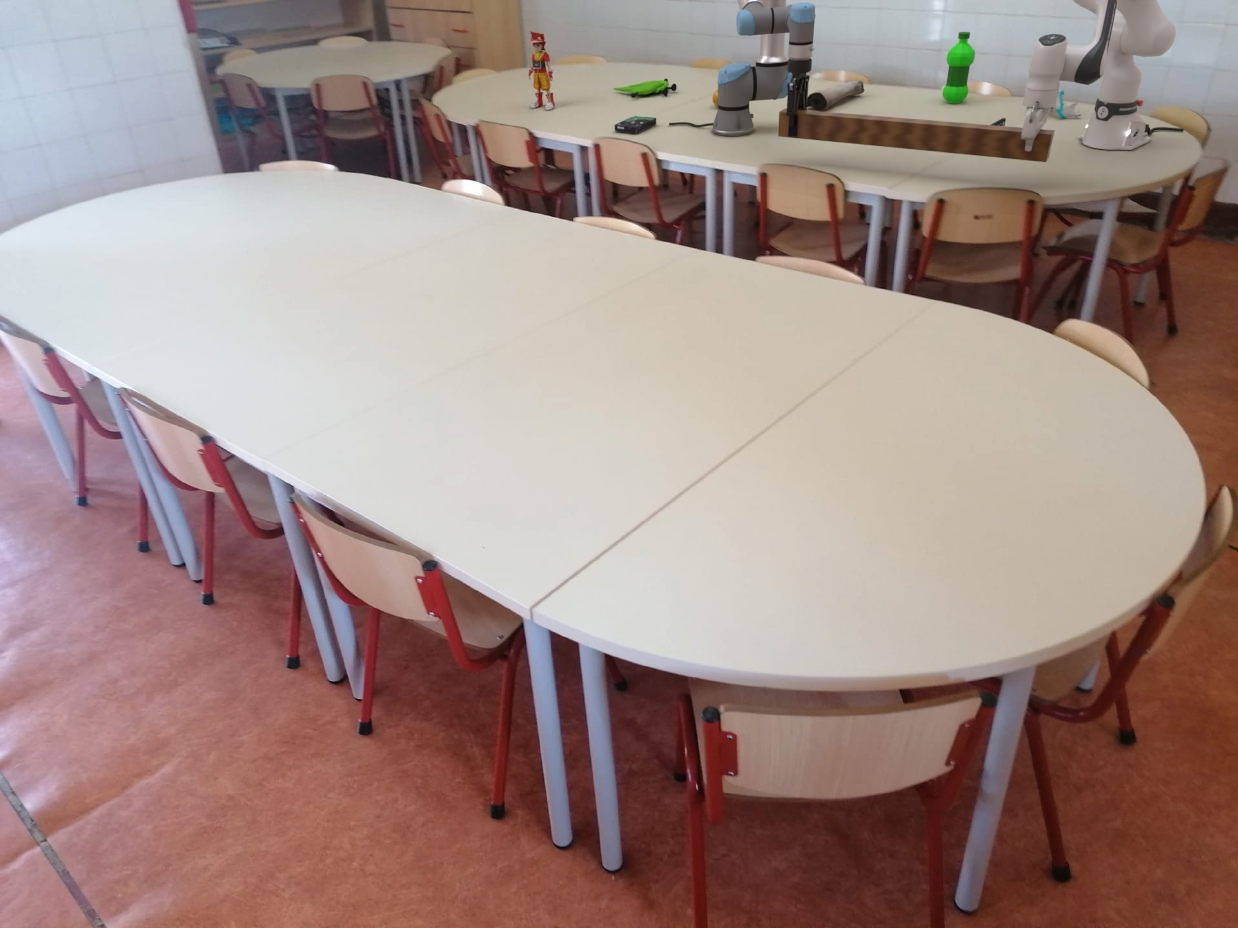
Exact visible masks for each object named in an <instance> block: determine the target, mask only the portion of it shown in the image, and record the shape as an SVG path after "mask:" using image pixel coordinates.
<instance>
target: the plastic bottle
mask: <svg viewBox="0 0 1238 928" xmlns="http://www.w3.org/2000/svg"><path fill="white" fill-rule="evenodd" d="M970 36H971V32H970V31H959V32H958V36H957V39H958V42H957V43H956V44H954V45H953V46H952V47H951V48H950V49H949V50H948V52H947V54H946V63H947V64H948V69H947V70H948V71H947V76H946V77H947V78H946V84H945V85H944V87H943V90H942V97H943V99H944V100H945V101H946V102H947V103H948V104H960V103H961V102H963V101H964V100H966V98H967V96H968V95H969V85H968V79H969V73H970V67H971V65H972V64H973V63H974V61H975V57H976V51H975V49H974V47H972V45H971V44H970V43H969V42H968V41H969V39H970V38H971V37H970Z"/></svg>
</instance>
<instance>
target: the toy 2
mask: <svg viewBox="0 0 1238 928" xmlns="http://www.w3.org/2000/svg"><path fill="white" fill-rule="evenodd" d="M669 85H670V83H669V79H668V78H664V79H663V80H649V81H644V82H640V83H634V84H629V85H627V86H621V87H613V88H612V89H613V90H616V91H619V92H623V93H627V94H628V93H629V94H631V95H630V96H631V98H632V99H634V98H636V96H637V95H650V94H652V93H654V94H658V93H662V95H663V96H665V97H667V96H668V95H669V90H671V91H672V92H676V91H677V84H676V83H672V84H671V86H669Z"/></svg>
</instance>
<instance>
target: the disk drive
mask: <svg viewBox="0 0 1238 928" xmlns="http://www.w3.org/2000/svg"><path fill="white" fill-rule="evenodd" d="M656 125H657V117H652V116H651V117H650V116H637V115H633V116H630V117H628V118H626V119H624V120H621V121H619V122H618V123H615V124H614V132H617V133H618V132H619V133H626V134H635V135H637V134H639V133H642V132H644V131H646V130H647V129H651V128H653V127H654V126H656Z"/></svg>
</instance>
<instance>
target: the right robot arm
mask: <svg viewBox="0 0 1238 928" xmlns="http://www.w3.org/2000/svg"><path fill="white" fill-rule="evenodd" d="M1072 1H1073V2H1074V3H1075V4H1077V5H1078V6H1080V7H1082V8H1084V9H1086V10H1088V11H1090V12H1091V13H1093V14H1094V15H1095V16H1096V17H1097V19H1096V23H1095V27H1094V29H1093V35H1092V41H1091V42H1090V43H1088V44H1076V43H1075V44H1073V43H1068V39H1067V37H1066V36H1065V35H1063V34H1059V33H1050V34H1044V35H1042V36H1040V37H1039V38H1038V39H1037V41H1036V43H1035V46H1034V48H1033V52H1032V55H1031V58H1030V63H1029V66H1028V79H1027V82H1026V84H1025V89H1024V94H1023V98H1022V105H1023V106H1025V107H1026V108H1025V111H1026V114H1025V117H1024V121H1023V127H1022V128H1023V130H1022V134H1021V139H1024V140H1026V146H1025V151H1031V150H1032V147H1033V141H1034V139H1035V137H1036V136H1037V135H1038V133H1039V132H1040V130H1041V129H1043V127H1045V125H1046V123H1047V122H1048V119H1049V115H1050V112H1051V110H1050V109H1051V107H1053V106H1055V105H1056V101H1057V97H1058V92H1059V89H1060V87H1061V85H1060V82H1070V83H1076V84H1080V85H1086V86H1090V85H1091V84H1093V83H1096V82H1097V81H1098V80H1100V79H1101V78H1102V80H1101V84H1100V85H1101V86H1100V89H1099V94H1098V97H1097V99H1096V100H1095V103H1094V107H1093V108H1094V109H1093V110H1094V112H1093V113H1091V114H1090V116H1089V119H1088V121H1087V124H1086V125H1085V131H1084V133H1083V134H1081V135H1080V137H1079V139H1080V140H1081V141H1082V144H1083V145H1085V146H1086V147H1089V148H1094V149H1099V150H1110V151H1111V150H1114V151H1115V150H1116V151H1117V150H1122V151H1132V150H1135V149H1137V148H1139V147H1140V146H1143V145H1145V144H1147V143H1149V142H1151V140H1152V139H1151V137H1150V136H1151V135H1152V134H1153V132H1155V131H1171V132H1184V131H1185V128H1179V127H1168V126H1167V127H1166V126H1159V127H1153V128H1150V124H1148V123H1146V121H1145V120H1144V119H1143V118H1142V117H1141V116H1140V114H1139V113H1138V112H1137V111H1138V107H1140V108H1141V107H1143V105H1144V103H1145V101H1144V99H1139V98H1138V94H1139V91H1140V87H1141V83H1142V79H1143V74H1142V72H1141V70H1140V69H1139V68H1138V66H1137V65H1136V62H1135V59H1134V56H1136V57H1142V58H1150V57H1160V56H1163V55H1164V54H1165V53H1167V52H1168V51H1169V50H1170V49H1171V48H1172V46H1173V44H1174V42H1175V39H1176V26H1175V24H1173V22H1171V21H1170V19H1168V18H1167V17H1166V16H1165V14H1164V12H1163V10H1162V9H1161V7H1160V5H1159V2H1158V0H1072ZM1116 10H1117V11H1118V12H1119V13H1118V12H1117V13H1116ZM1137 98H1138V99H1137ZM1145 133H1146V134H1147V135H1145Z"/></svg>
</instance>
